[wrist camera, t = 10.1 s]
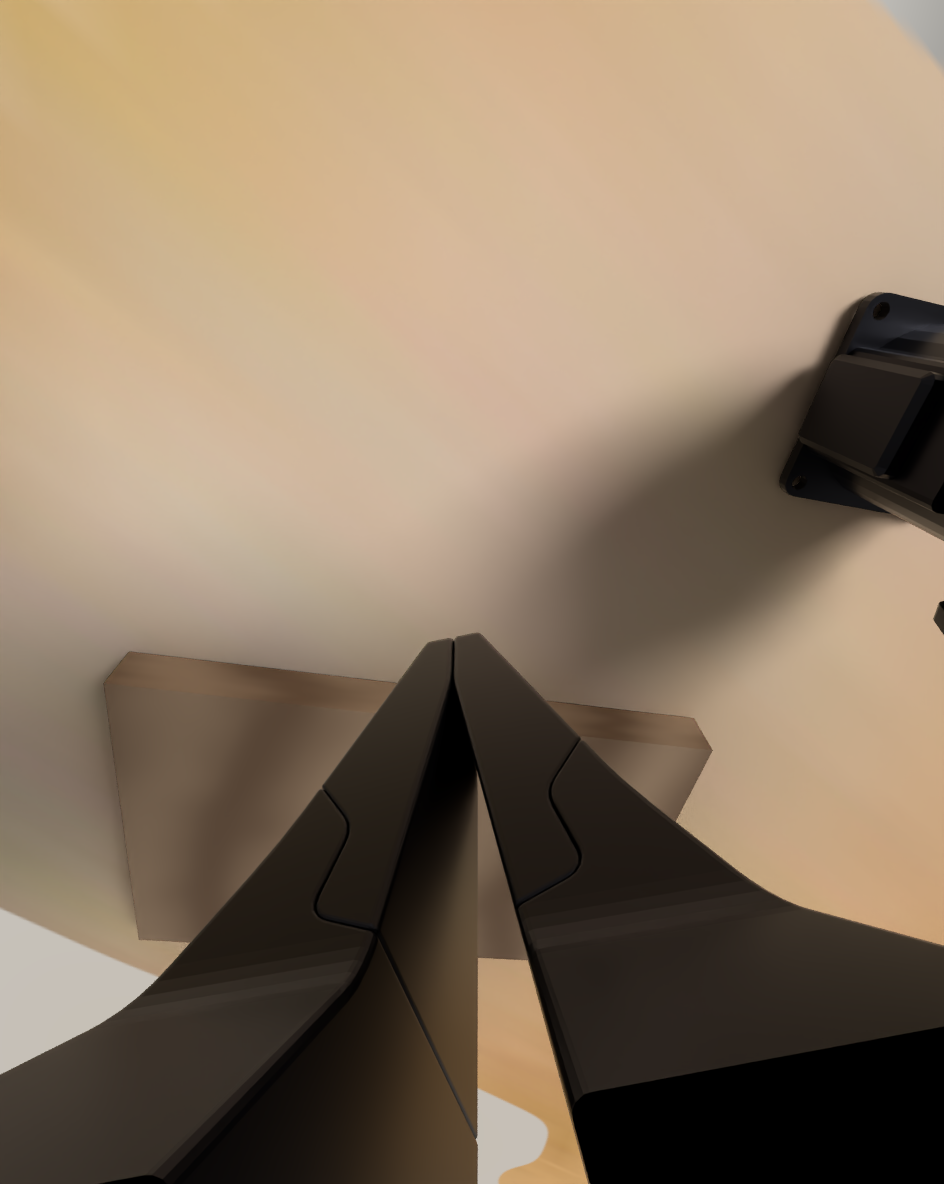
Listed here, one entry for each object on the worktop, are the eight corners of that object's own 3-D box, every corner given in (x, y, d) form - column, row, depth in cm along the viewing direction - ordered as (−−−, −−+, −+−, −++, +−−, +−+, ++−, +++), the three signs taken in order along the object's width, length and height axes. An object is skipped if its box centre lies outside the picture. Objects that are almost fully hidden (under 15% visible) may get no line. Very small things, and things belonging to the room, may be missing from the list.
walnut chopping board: (693, 718, 26) (712, 750, 24) (592, 928, 34) (601, 964, 32) (129, 651, 23) (103, 683, 21) (155, 901, 30) (138, 939, 28)
